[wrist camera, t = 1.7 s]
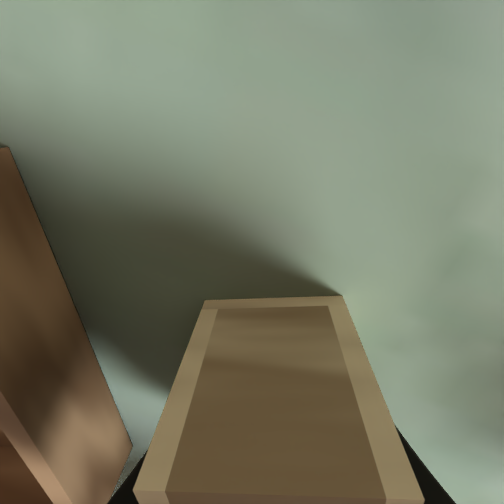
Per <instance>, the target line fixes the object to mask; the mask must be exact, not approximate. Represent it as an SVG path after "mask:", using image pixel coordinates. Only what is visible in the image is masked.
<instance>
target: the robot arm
mask: <svg viewBox="0 0 504 504" xmlns="http://www.w3.org/2000/svg"><path fill="white" fill-rule="evenodd" d="M394 425H395V424H394ZM395 427H396V426H395ZM396 430H397V432H398V435H399V437H400V440H401V442H402V445H403V447H404V450H405V452H406V455H407V457H408V460H409V462H410V465H411V467H412V470H413V472H414V474H415V477H416V479H417V482H418V484H419V487H420V489H421V492H422V494H423V497H424V499H425V501H424V504H456V503H455V502H454V501H453V500H452V498H451V497H450V496H449V495H448V494H447V492H446V491H445V490H444V489H443V487H442V486H441V485H440V484H439V482H438V481H437V480H436V479H435V478H434V476H433V475H432V474H431V473H430V471H429V470H428V469H427V467H426V466H425V465H424V464H423V462H422V461H421V460H420V458H419V457H418V456H417V454H416V453H415V452H414V450H413V449H412V448H411V446H410V445H409V444H408V442H407V441H406V440H405V438H404V437H403V436H402V434H401V433H400V431H399V430H398V429H397V427H396ZM147 451H148V450H147ZM146 454H147V452H146V453H145V454H144V456H143V457H142V458H141V460H140V461H139V462H138V464H137V465H136V467H135V468H134V469H133V471H132V472H131V473H130V475H129V476H128V477H127V479H126V480H125V481H124V483H123V484H122V485H121V487H120V488H119V489H118V490H117V492H116V493H115V494H114V495H113V497H112V498H111V499H110V500H109V502H108V503H107V504H139V503H138V501H137V498H136V496H135V494H134V492H133V488H134V486H135V483H136V480H137V478H138V475H139V472H140V470H141V467H142V464H143V462H144V459H145V457H146Z"/></svg>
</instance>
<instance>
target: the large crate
mask: <svg viewBox="0 0 504 504" xmlns="http://www.w3.org/2000/svg"><path fill="white" fill-rule="evenodd" d="M132 447H133V445H132V443H131V440H130V438H129V436H128V433H127V431H126V428H125V426H124V424H123V421H122V419H121V416H120V414H119V412H118V409H117V407H116V404H115V402H114V400H113V397H112V395H111V392H110V390H109V388H108V385H107V383H106V380H105V378H104V376H103V373H102V371H101V368H100V366H99V363H98V361H97V359H96V356H95V354H94V351H93V349H92V347H91V344H90V342H89V339H88V337H87V335H86V332H85V330H84V327H83V325H82V323H81V320H80V318H79V315H78V313H77V311H76V308H75V306H74V303H73V301H72V299H71V296H70V294H69V291H68V289H67V287H66V284H65V282H64V279H63V277H62V275H61V272H60V270H59V267H58V265H57V262H56V260H55V258H54V255H53V253H52V250H51V248H50V246H49V243H48V241H47V238H46V236H45V234H44V231H43V229H42V226H41V224H40V222H39V219H38V217H37V214H36V212H35V210H34V207H33V205H32V202H31V200H30V198H29V195H28V193H27V190H26V188H25V186H24V183H23V181H22V178H21V176H20V174H19V171H18V169H17V166H16V164H15V162H14V159H13V157H12V154H11V152H10V149H9V147H5V148H0V504H107V503H108V502H109V500H110V498H111V495H112V493H113V491H114V488H115V486H116V484H117V482H118V479H119V477H120V475H121V472H122V470H123V468H124V465H125V463H126V461H127V458H128V456H129V454H130V451H131V449H132Z"/></svg>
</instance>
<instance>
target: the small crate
mask: <svg viewBox="0 0 504 504" xmlns="http://www.w3.org/2000/svg"><path fill="white" fill-rule="evenodd" d="M133 492H134V494H135V496H136V498H137V501H138V503H139V504H424V501H425V499H424V497H423V494H422V492H421V489H420V487H419V484H418V482H417V479H416V477H415V474H414V472H413V470H412V467H411V465H410V462H409V460H408V457H407V455H406V452H405V450H404V447H403V445H402V442H401V440H400V437H399V435H398V432H397V430H396V427H395V425H394V422H393V420H392V418H391V415H390V413H389V410H388V408H387V405H386V403H385V400H384V398H383V395H382V393H381V390H380V388H379V385H378V383H377V380H376V378H375V375H374V373H373V370H372V368H371V366H370V363H369V361H368V358H367V356H366V353H365V351H364V348H363V346H362V343H361V341H360V338H359V336H358V333H357V331H356V328H355V326H354V323H353V321H352V318H351V316H350V314H349V311H348V309H347V306H346V304H345V301H344V299H343V296H316V297H286V298H256V299H226V300H205V301H204V304H203V307H202V309H201V312H200V315H199V317H198V320H197V322H196V325H195V328H194V330H193V333H192V336H191V338H190V341H189V343H188V346H187V349H186V351H185V354H184V357H183V359H182V362H181V365H180V367H179V370H178V372H177V375H176V378H175V380H174V383H173V386H172V388H171V391H170V393H169V396H168V399H167V401H166V404H165V407H164V409H163V412H162V415H161V417H160V420H159V422H158V425H157V428H156V430H155V433H154V436H153V438H152V441H151V443H150V446H149V449H148V451H147V454H146V457H145V459H144V462H143V464H142V467H141V470H140V472H139V475H138V478H137V480H136V483H135V486H134V488H133Z"/></svg>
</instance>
